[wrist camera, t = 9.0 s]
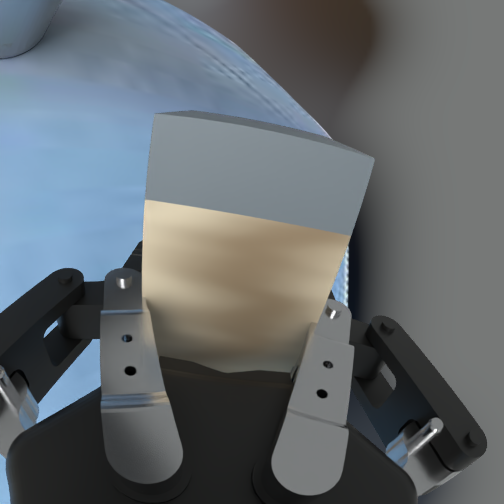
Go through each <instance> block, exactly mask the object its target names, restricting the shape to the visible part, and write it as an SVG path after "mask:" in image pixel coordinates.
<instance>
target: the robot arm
mask: <svg viewBox="0 0 504 504" xmlns="http://www.w3.org/2000/svg"><path fill="white" fill-rule="evenodd" d="M61 2H62V0H0V58H9V57H13V56H17V55H19V54H22V53H24V52H26V51H28V50H29V49H31V48H32V47H34V46H35V45H36V44H37V43H38V42H39V41H40V40H41V39H42V37H43V35H44V34H45V32H46V30H47V28H48V26H49V24H50V22H51V20H52V18H53V16H54V14H55V12H56V10H57V9H58V7H59V5H60V3H61ZM142 248H143V240H142V241H141V242H139V243H138V245H137V246H136V248H135V250H134V251H133V252H132V255H130V257H129V258H128V260H127V261H126V263H125V264H124V266H123V267H122V268H118V269H115V270H112V271H110V272H109V273H108V274H107V275H106V277H105V281H97V282H84V277H83V274H82V273H81V272H80V271H79V270H76V269H73V268H64V269H59V270H57V271H55V272H53V273H52V274H50V275H49V276H48V277H46V278H45V279H44V280H42V281H41V282H40V283H38V284H37V285H36V286H34V287H33V288H32V289H30V290H29V291H28V292H26V293H25V294H24V295H23V296H21V297H20V298H19V299H18V300H16V301H15V302H14V303H13V304H11V305H10V306H9V307H8V308H6V309H5V310H4V311H3V312H2V313H0V454H1V455H2V456H3V457H4V458H6V474H7V480H8V485H9V492H10V503H11V504H417V502H418V498H417V497H418V496H419V495H424V494H427V493H429V492H431V491H432V490H434V489H436V488H437V487H439V486H440V485H442V484H443V483H445V482H446V481H448V480H449V479H451V478H452V477H454V476H455V475H457V474H458V473H459V472H461V471H462V470H464V469H465V468H466V467H468V466H469V465H470V464H471V463H473V462H474V461H476V460H477V459H478V458H480V457H481V456H482V455H483V454H484V453H485V451H486V448H487V440H486V436H485V434H484V432H483V431H482V429H481V428H480V426H479V425H478V424H477V422H476V421H475V420H474V418H473V417H472V415H471V414H470V413H469V412H468V410H467V409H466V407H465V406H464V405H463V403H462V402H461V401H460V399H459V398H458V397H457V395H456V394H455V393H454V391H453V390H452V389H451V388H450V386H449V385H448V384H447V382H446V381H445V380H444V378H442V376H441V375H440V373H439V372H438V371H437V370H436V369H435V367H434V366H433V365H432V363H431V362H430V361H429V360H428V359H427V357H426V356H425V355H424V354H423V352H422V351H421V350H420V349H419V347H418V346H417V345H416V344H415V343H414V341H413V340H412V339H411V338H410V337H409V336H408V334H407V333H406V332H405V331H404V330H403V328H402V327H401V326H400V325H399V324H398V323H397V322H396V321H394V320H393V319H391V318H389V317H386V316H375V317H373V318H372V320H371V322H370V324H366V323H363V322H360V321H357V320H354V319H352V318H351V312H350V310H349V309H348V308H347V307H346V306H345V305H344V304H342V303H341V302H339V301H336V300H335V298H334V295H333V293H332V290H331V291H330V294H329V296H328V299H327V301H326V304H325V306H324V309H323V311H322V313H321V316H320V318H319V321H318V323H315V322H311V324H310V326H309V329H308V331H307V334H306V337H305V340H304V344H303V347H302V350H301V353H300V355H299V358H298V360H297V362H296V364H295V367H294V366H293V367H292V369H291V371H290V372H277V371H265V370H254V371H243V372H231V373H225V372H221V371H218V370H215V369H212V368H209V367H206V366H203V365H201V364H198V363H195V362H192V361H187V360H181V359H175V358H170V357H164V356H159V359H158V354H157V349H156V344H155V339H154V333H153V327H152V322H151V315H150V310H149V309H147V303H146V298H145V297H142ZM56 320H57V322H58V325H57V326H56V327H55V328H54V329H53V330H52V331H51V332H50V333H49V334H48V335H47V336H46V337H45V338H44V334H45V331H46V330H47V328H48V327H49V326H51V325H52V324H53V323H54V322H55V321H56ZM92 339H100V370H101V387H99V388H97V389H96V390H94V391H92V392H90V393H89V394H87V395H85V396H84V397H82V398H80V399H79V400H77V401H75V402H74V403H72V404H70V405H68V406H67V407H65V408H63V409H62V410H60V411H58V412H56V413H55V414H53V415H51V416H49V417H48V418H46V419H44V420H42V421H41V422H39V423H37V424H36V420H37V418H38V414H39V407H38V403H39V402H40V401H41V400H42V398H43V397H44V396H45V395H46V394H47V392H48V391H49V390H50V389H51V388H52V386H53V385H54V384H55V383H56V382H57V380H58V379H59V378H60V377H61V376H62V375H63V373H64V372H65V371H66V370H67V369H68V368H69V366H70V365H71V364H72V363H73V362H74V361H75V359H76V358H77V357H78V356H79V355H80V354H81V353H82V352H83V350H84V349H85V348H86V347H87V346H88V345H89V344H90V342H91V341H92ZM385 364H387V366H388V367H389V369H390V370H391V371H392V373H393V374H394V376H395V378H396V387H395V390H394V391H393V389H392V388H391V387H390V385H389V383H388V382H387V381H386V379H385V378H384V376H383V375H382V373H381V372H380V371H381V370H382V368H383V367H384V365H385ZM350 388H351V389H352V390H353V392H354V394H355V395H356V397H357V399H358V400H359V402H360V404H361V406H362V407H363V409H364V411H365V413H366V414H367V416H368V418H369V419H370V421H371V423H372V425H373V426H374V428H375V430H376V431H377V433H378V435H379V437H380V438H381V440H382V442H383V444H384V445H385V447H386V454H385V453H383V452H382V451H381V450H380V449H379V448H377V447H376V446H375V445H374V444H373V443H371V442H370V441H369V440H368V439H367V438H366V437H365V436H364V435H362V434H361V433H360V432H359V431H358V430H357V429H356V428H354V427H353V426H352V425H351V424H350V423H349V422H348V421H347V420H346V418H347V411H348V404H349V396H350Z"/></svg>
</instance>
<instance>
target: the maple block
mask: <svg viewBox="0 0 504 504" xmlns="http://www.w3.org/2000/svg"><path fill="white" fill-rule="evenodd" d="M374 160H375V158H373V157H370V156H368V155H366V154H364V153H362V152H359V151H357V150H355V149H353V148H351V147H348V146H346V145H344V144H341V143H339V142H337V141H334V140H332V139H329V138H327V137H324V136H321V135H317V134H314V133H310V132H306V131H302V130H297V129H293V128H289V127H285V126H280V125H275V124H271V123H266V122H261V121H256V120H251V119H245V118H240V117H234V116H228V115H221V114H215V113H208V112H201V111H179V112H167V113H156V114H155V115H154V121H153V129H152V136H151V144H150V152H149V161H148V171H147V181H146V193H145V207H144V224H143V248H142V297H145V298H146V303H147V309H149V310H150V315H151V322H152V327H153V333H154V339H155V344H156V349H157V354H158V359H159V356H164V357H170V358H175V359H181V360H187V361H192V362H195V363H198V364H201V365H203V366H206V367H209V368H212V369H215V370H218V371H221V372H225V373H231V372H243V371H254V370H265V371H277V372H290V371H291V369H292V367H293V366H294V367H295V364H296V362H297V360H298V358H299V355H300V353H301V350H302V347H303V344H304V340H305V337H306V334H307V331H308V329H309V326H310V324H311V322H315V323H318V321H319V318H320V316H321V313H322V311H323V309H324V306H325V304H326V301H327V299H328V296H329V294H330V291H331V289H332V286H333V283H334V281H335V278H336V276H337V273H338V270H339V268H340V265H341V262H342V259H343V257H344V254H345V251H346V248H347V246H348V243H349V240H350V236H351V234H352V231H353V228H354V225H355V222H356V219H357V216H358V213H359V210H360V207H361V203H362V201H363V198H364V194H365V191H366V188H367V184H368V181H369V178H370V174H371V171H372V168H373V164H374Z"/></svg>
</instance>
